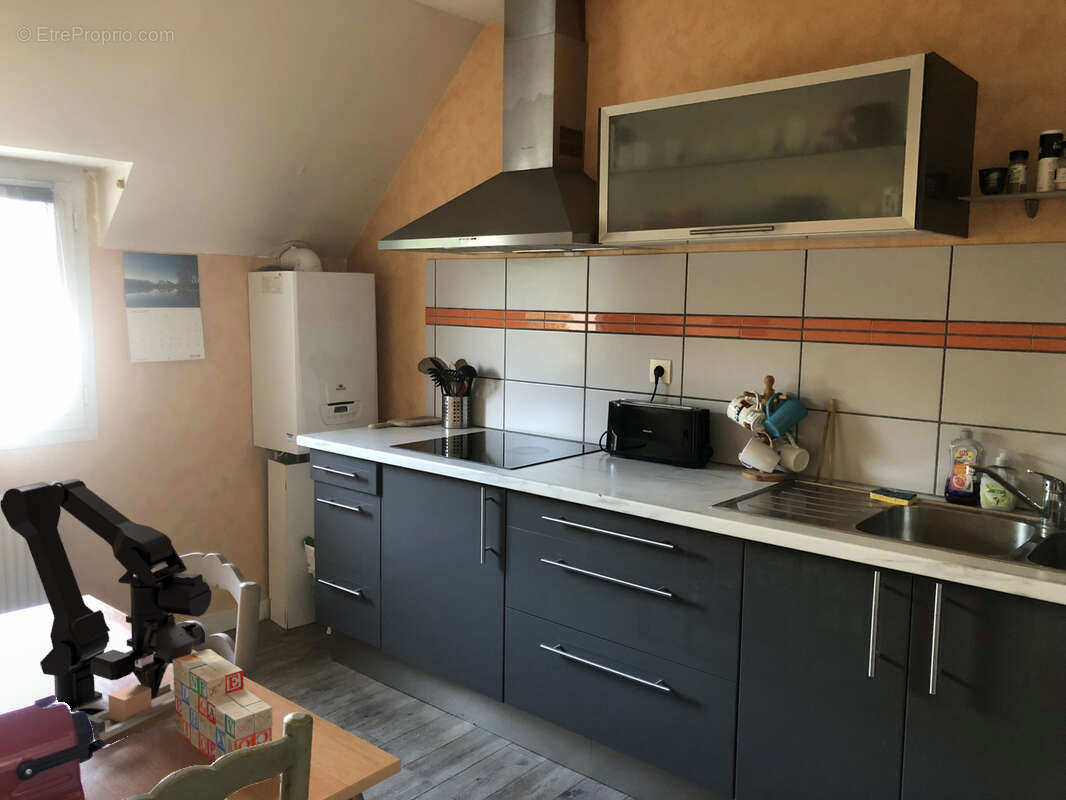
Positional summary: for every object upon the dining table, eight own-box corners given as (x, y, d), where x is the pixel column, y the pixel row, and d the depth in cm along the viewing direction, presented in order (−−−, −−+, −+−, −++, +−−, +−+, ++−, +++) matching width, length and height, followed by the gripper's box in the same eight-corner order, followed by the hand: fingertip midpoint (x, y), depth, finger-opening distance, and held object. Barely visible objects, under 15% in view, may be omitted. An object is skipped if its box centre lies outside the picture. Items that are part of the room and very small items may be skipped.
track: (75, 738, 136) (74, 714, 136) (166, 695, 151) (166, 674, 151) (103, 749, 133) (103, 724, 133) (194, 704, 148) (193, 682, 148)
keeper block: (109, 718, 140) (108, 694, 139) (135, 705, 144) (135, 683, 144) (125, 723, 138) (124, 700, 137) (151, 711, 142) (151, 688, 142)
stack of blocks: (273, 765, 129) (272, 687, 128) (234, 781, 125) (232, 701, 124) (211, 716, 144) (209, 647, 143) (174, 729, 140) (172, 657, 139)
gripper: (133, 636, 131) (136, 733, 133) (227, 600, 148) (229, 686, 149) (86, 623, 136) (90, 716, 138) (182, 590, 153) (184, 673, 154)
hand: (152, 697), depth 145 cm, fingers closed
